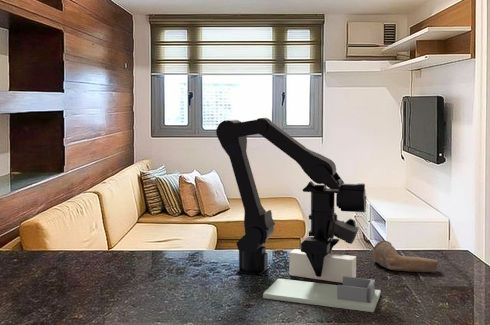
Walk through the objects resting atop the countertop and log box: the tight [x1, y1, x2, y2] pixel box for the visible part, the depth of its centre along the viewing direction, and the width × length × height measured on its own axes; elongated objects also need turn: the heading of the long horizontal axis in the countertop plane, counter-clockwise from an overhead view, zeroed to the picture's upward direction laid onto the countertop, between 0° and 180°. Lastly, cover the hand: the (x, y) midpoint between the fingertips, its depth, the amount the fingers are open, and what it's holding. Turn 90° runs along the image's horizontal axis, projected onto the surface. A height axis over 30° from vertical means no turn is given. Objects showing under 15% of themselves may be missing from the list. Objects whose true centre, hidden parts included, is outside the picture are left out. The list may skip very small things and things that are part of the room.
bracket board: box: [262, 276, 381, 313], centre depth 119 cm, size 24×11×4 cm, turn 69°
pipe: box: [371, 240, 440, 274], centre depth 139 cm, size 6×17×10 cm
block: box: [288, 248, 357, 284], centre depth 132 cm, size 16×4×6 cm, turn 63°
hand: (322, 272), depth 132 cm, fingers open, 7 cm apart
